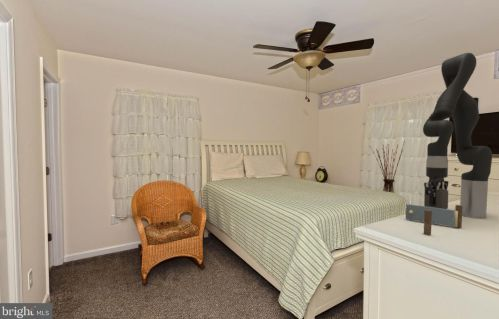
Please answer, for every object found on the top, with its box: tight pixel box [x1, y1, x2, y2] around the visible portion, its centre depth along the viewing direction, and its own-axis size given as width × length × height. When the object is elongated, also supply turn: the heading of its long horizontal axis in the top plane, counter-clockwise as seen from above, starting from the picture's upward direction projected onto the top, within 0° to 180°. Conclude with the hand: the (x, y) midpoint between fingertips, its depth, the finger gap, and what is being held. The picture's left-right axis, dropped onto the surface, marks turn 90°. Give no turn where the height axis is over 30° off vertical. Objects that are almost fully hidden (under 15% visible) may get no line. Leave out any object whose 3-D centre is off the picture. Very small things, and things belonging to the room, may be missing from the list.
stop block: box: [423, 189, 449, 209], centre depth 107 cm, size 4×7×8 cm, turn 24°
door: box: [405, 203, 458, 228], centre depth 101 cm, size 18×3×6 cm, turn 48°
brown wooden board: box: [423, 204, 463, 236], centre depth 93 cm, size 21×2×9 cm, turn 113°
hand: (435, 204), depth 107 cm, fingers closed on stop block, 4 cm apart
